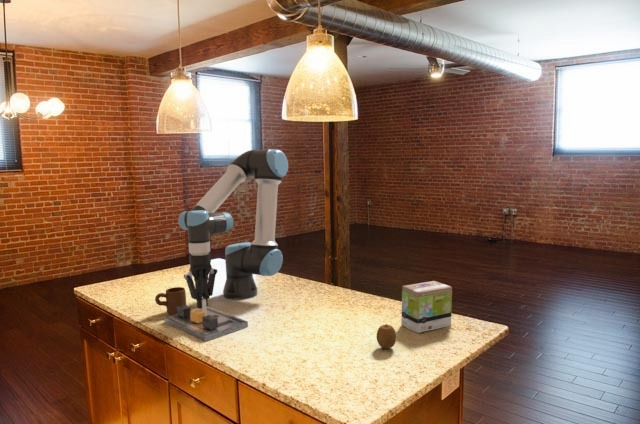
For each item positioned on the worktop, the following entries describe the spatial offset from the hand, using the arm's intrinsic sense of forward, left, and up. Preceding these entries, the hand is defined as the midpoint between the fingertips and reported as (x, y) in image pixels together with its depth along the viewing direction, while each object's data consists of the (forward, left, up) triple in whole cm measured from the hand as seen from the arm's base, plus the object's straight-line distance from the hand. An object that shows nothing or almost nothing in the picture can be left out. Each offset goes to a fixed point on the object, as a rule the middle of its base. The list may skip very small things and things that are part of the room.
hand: (203, 316), depth 173 cm
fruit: (-51, +46, -4) cm, 69 cm away
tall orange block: (+2, +1, -1) cm, 3 cm away
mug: (+10, -19, -4) cm, 22 cm away
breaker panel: (-1, 0, -4) cm, 4 cm away
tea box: (-73, +35, -4) cm, 81 cm away
